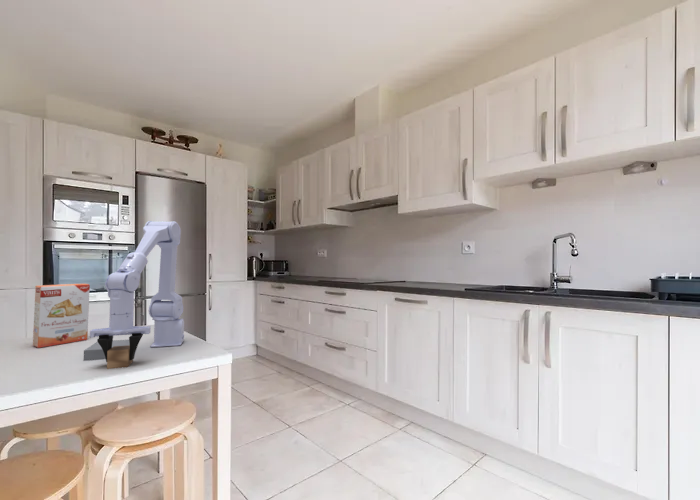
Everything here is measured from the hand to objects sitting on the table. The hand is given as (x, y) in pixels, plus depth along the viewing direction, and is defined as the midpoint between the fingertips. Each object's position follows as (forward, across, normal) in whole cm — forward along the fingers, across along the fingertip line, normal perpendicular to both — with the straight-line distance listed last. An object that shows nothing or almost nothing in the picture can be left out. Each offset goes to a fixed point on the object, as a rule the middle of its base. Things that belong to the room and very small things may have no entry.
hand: (120, 360), depth 95 cm
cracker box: (+2, -27, +33) cm, 43 cm away
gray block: (+2, -6, +13) cm, 14 cm away
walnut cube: (+2, 0, 0) cm, 2 cm away
